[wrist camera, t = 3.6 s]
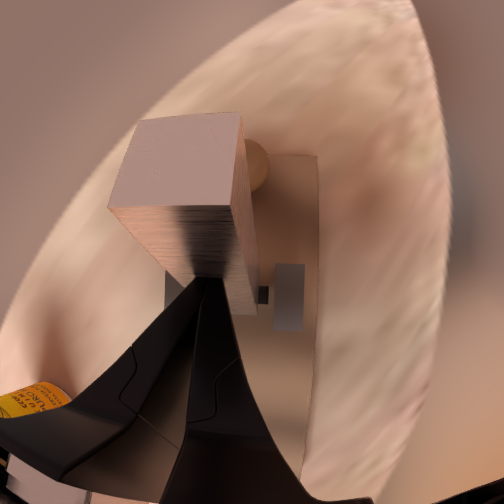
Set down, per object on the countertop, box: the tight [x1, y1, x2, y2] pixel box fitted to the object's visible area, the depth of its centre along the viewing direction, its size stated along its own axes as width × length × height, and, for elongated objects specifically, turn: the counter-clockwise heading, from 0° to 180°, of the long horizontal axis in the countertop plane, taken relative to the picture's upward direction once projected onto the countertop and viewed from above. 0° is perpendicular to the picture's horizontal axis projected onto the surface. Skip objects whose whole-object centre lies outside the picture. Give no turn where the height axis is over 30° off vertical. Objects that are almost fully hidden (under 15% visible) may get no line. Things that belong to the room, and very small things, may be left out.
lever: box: [107, 112, 269, 315], centre depth 11 cm, size 2×3×12 cm
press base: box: [164, 139, 319, 481], centre depth 16 cm, size 22×9×5 cm, turn 178°
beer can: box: [0, 382, 72, 418], centre depth 11 cm, size 6×6×15 cm
